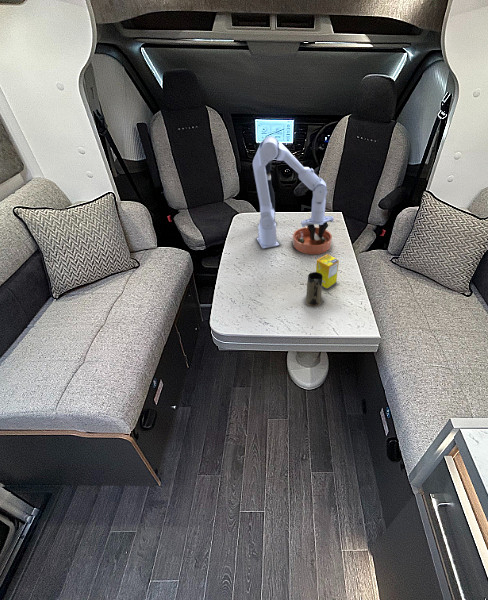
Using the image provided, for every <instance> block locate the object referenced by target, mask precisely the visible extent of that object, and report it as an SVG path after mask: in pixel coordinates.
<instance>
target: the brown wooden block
mask: <svg viewBox="0 0 488 600" xmlns="http://www.w3.org/2000/svg"><path fill="white" fill-rule="evenodd" d="M310 239H311V236H310ZM311 241H312V242H313V243H314V244H315V245H320V244H321V239H320V238H319V236H318V235H317V234H316V233H315V236H314V240H312V239H311Z"/></svg>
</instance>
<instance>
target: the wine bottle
mask: <svg viewBox="0 0 488 600" xmlns="http://www.w3.org/2000/svg"><path fill="white" fill-rule="evenodd" d="M265 168H266V175H267V181H268V187H269V194H270V200H271V203H272V207H273V209H274V210H275V211H276V200H275V199H276V196H275V190H274V188H273V184H272V183H273V181H272V175H271V171H272V161H270V162H268V164H267V165H266V166H265ZM274 221H275V222H276V219H275V220H274Z"/></svg>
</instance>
